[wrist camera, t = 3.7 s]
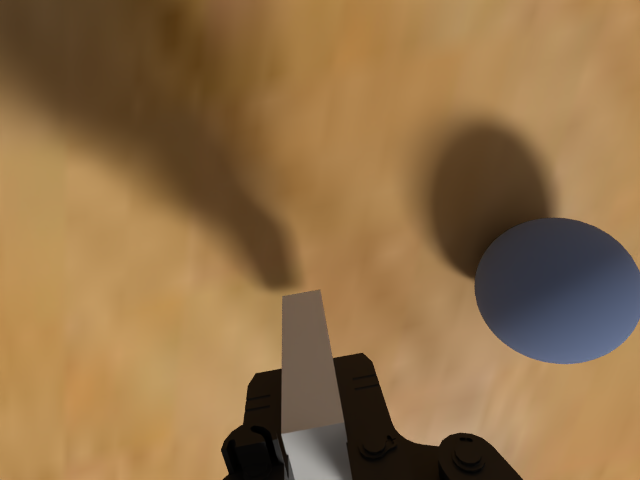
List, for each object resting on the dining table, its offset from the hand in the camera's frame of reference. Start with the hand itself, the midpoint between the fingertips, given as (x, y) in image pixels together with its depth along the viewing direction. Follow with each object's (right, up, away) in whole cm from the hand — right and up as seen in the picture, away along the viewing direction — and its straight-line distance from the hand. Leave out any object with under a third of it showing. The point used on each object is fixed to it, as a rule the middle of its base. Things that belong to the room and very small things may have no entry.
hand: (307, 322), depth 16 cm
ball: (+9, +1, -1) cm, 10 cm away
